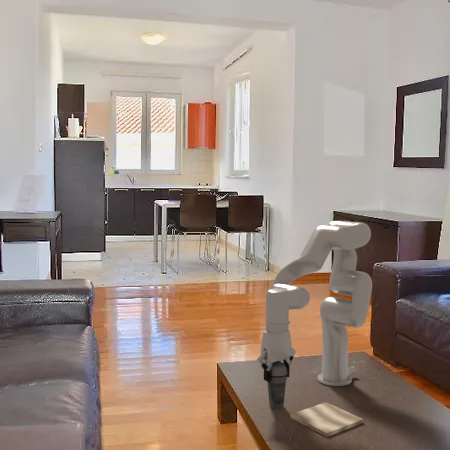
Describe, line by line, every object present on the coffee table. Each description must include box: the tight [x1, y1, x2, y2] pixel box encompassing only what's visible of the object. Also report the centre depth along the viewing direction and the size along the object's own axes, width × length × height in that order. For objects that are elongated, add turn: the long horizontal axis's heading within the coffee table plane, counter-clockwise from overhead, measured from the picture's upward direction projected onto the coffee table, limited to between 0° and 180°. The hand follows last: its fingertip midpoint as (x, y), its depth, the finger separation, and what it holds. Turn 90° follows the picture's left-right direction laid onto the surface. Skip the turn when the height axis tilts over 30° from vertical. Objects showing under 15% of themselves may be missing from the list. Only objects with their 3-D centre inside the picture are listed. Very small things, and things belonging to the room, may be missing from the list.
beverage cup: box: [267, 361, 288, 411], centre depth 187 cm, size 7×7×20 cm
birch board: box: [289, 401, 364, 438], centre depth 177 cm, size 16×16×1 cm
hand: (276, 378), depth 187 cm, fingers closed on beverage cup, 7 cm apart
